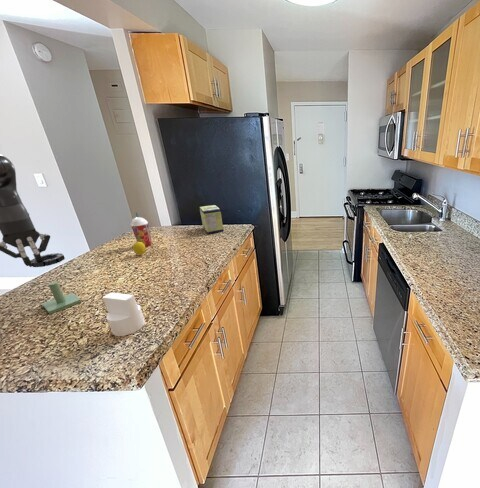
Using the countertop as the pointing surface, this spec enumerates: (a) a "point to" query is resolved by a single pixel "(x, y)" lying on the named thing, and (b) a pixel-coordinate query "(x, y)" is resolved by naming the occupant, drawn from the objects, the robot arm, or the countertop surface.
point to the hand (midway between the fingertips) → (35, 264)
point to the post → (59, 299)
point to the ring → (53, 260)
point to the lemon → (139, 248)
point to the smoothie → (141, 230)
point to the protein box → (211, 219)
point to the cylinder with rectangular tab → (123, 314)
